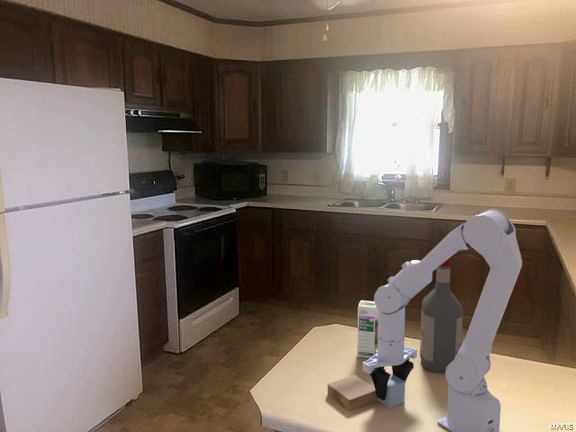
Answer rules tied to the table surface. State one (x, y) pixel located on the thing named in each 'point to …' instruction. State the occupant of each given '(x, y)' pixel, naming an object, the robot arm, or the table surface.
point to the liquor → (440, 324)
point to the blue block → (394, 392)
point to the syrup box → (367, 329)
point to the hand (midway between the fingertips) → (389, 394)
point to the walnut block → (352, 392)
